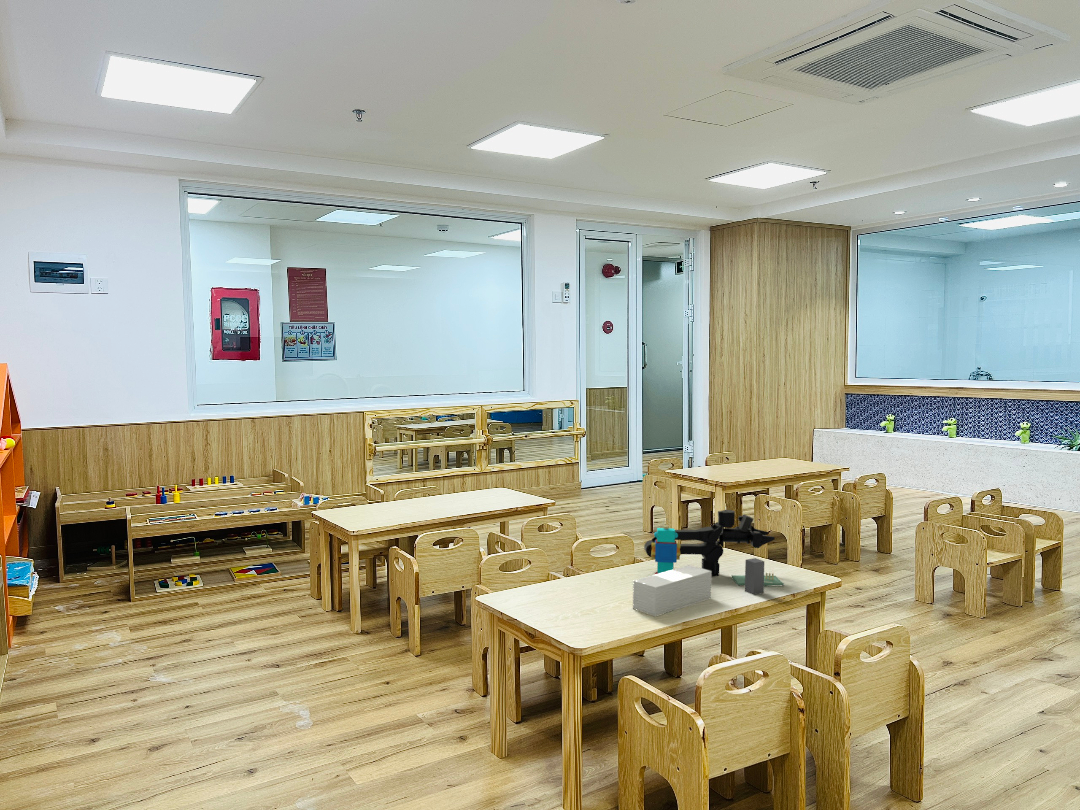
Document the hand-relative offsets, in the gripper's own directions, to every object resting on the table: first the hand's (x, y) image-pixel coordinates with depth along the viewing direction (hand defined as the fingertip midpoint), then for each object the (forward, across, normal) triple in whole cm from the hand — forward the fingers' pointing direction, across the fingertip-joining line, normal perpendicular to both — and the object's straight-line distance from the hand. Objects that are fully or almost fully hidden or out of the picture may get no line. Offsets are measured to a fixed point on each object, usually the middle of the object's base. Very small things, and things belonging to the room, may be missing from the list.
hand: (771, 535), depth 329 cm
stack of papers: (-47, -38, +17) cm, 63 cm away
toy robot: (-45, -8, +17) cm, 49 cm away
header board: (-8, -10, +17) cm, 21 cm away
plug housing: (-13, -24, +17) cm, 32 cm away
